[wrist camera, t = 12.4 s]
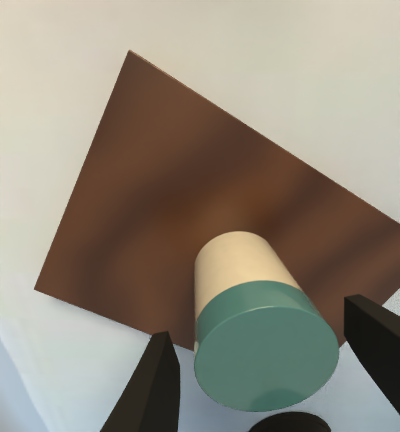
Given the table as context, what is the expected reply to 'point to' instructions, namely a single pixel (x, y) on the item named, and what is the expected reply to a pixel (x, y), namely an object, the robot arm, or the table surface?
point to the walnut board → (203, 212)
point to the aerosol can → (292, 423)
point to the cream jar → (256, 328)
